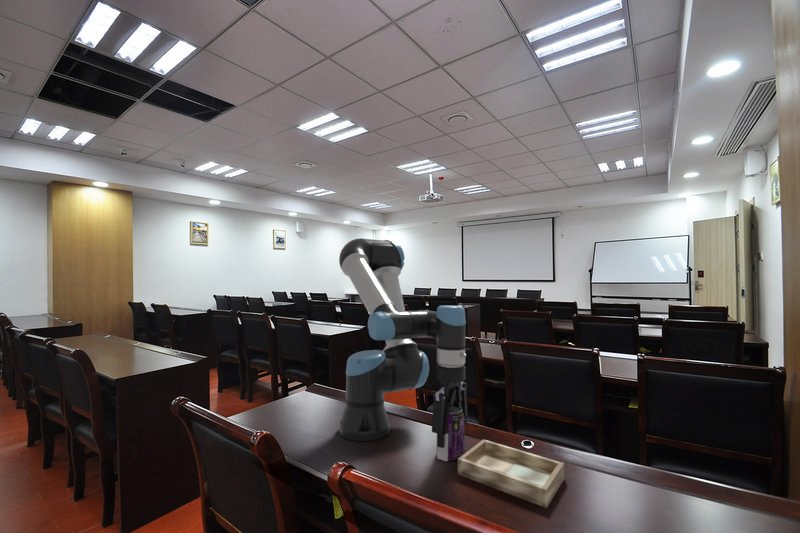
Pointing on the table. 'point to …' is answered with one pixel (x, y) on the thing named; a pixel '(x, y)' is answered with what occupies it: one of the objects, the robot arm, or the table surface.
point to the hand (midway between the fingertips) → (450, 453)
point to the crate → (513, 471)
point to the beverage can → (455, 433)
